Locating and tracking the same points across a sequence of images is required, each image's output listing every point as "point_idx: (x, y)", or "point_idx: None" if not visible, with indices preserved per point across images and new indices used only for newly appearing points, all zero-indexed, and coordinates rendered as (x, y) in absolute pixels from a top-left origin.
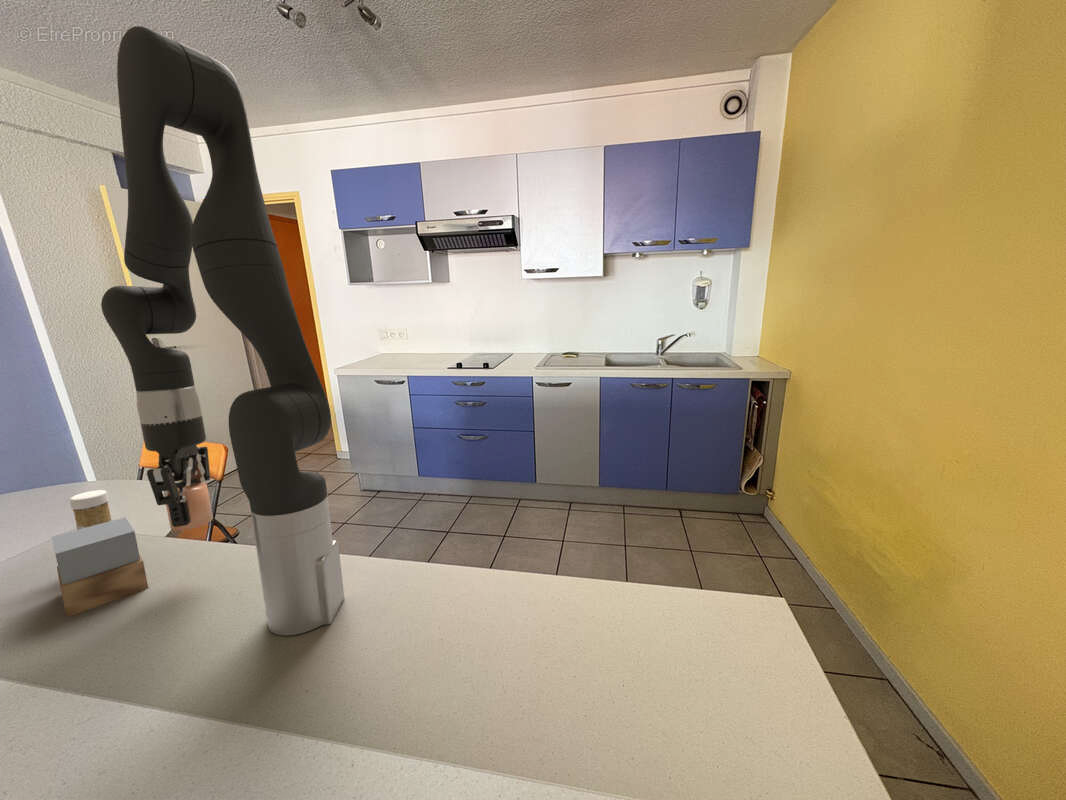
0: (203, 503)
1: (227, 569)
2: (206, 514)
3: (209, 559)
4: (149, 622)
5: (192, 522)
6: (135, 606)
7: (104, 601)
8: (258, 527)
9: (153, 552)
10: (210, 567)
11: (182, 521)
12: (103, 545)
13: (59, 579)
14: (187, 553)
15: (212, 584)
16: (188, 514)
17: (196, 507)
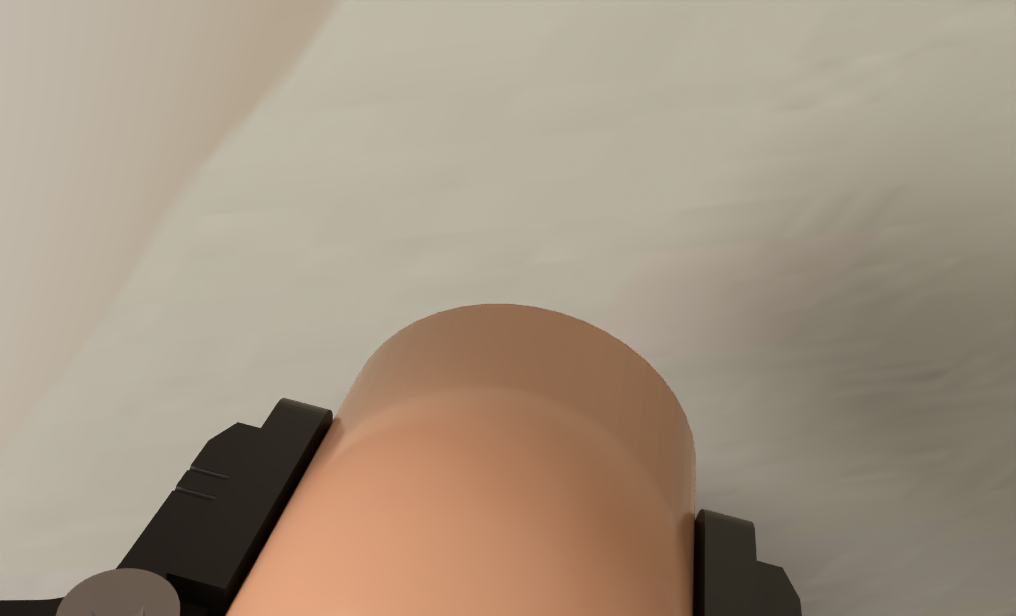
0: (598, 506)
1: (561, 66)
2: (601, 396)
3: (330, 196)
4: (1000, 393)
5: (692, 485)
6: (745, 470)
7: None
8: None
9: (96, 478)
10: (463, 177)
11: (786, 591)
12: None
13: None
14: (178, 324)
15: (744, 137)
16: (731, 584)
17: (663, 554)
